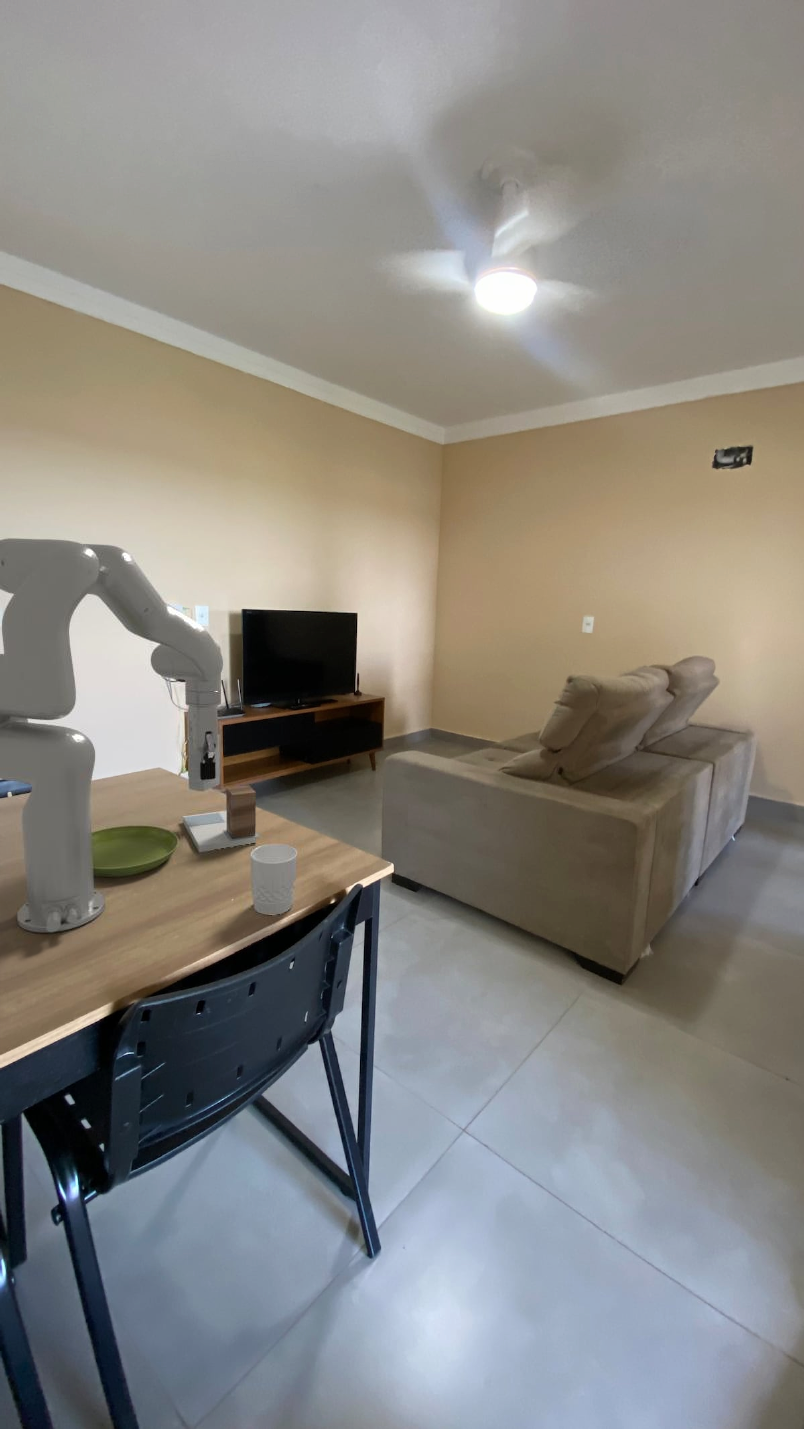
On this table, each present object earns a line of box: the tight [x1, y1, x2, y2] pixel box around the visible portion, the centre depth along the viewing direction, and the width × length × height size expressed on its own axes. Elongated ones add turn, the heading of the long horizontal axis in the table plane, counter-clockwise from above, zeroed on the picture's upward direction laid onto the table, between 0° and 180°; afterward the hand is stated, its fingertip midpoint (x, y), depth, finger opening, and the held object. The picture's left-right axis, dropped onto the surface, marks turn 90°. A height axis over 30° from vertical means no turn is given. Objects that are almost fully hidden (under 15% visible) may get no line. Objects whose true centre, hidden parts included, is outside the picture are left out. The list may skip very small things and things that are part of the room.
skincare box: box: [187, 734, 221, 792], centre depth 134 cm, size 6×4×12 cm
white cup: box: [250, 843, 298, 916], centre depth 103 cm, size 8×8×10 cm
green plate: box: [91, 825, 180, 878], centre depth 118 cm, size 21×21×3 cm
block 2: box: [226, 810, 257, 839], centre depth 130 cm, size 5×5×5 cm
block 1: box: [225, 784, 257, 817], centre depth 129 cm, size 5×5×5 cm
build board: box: [182, 810, 261, 853], centre depth 134 cm, size 18×13×2 cm
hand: (204, 773), depth 135 cm, fingers closed on skincare box, 6 cm apart
